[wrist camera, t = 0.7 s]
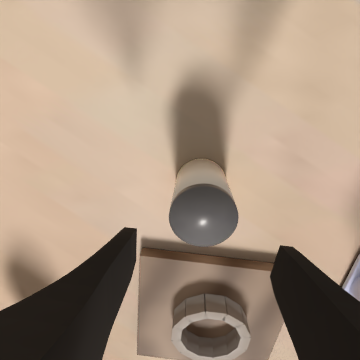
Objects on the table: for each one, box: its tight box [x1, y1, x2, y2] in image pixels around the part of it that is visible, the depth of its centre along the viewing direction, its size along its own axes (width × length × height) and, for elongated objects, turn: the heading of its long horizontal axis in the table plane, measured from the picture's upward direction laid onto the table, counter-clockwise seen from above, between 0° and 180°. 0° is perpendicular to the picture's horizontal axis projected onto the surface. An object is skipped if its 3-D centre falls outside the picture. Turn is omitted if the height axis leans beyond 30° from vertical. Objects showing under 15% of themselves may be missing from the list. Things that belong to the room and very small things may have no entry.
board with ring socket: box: [137, 248, 284, 360], centre depth 24 cm, size 16×16×3 cm
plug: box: [169, 159, 238, 247], centre depth 17 cm, size 4×4×6 cm
